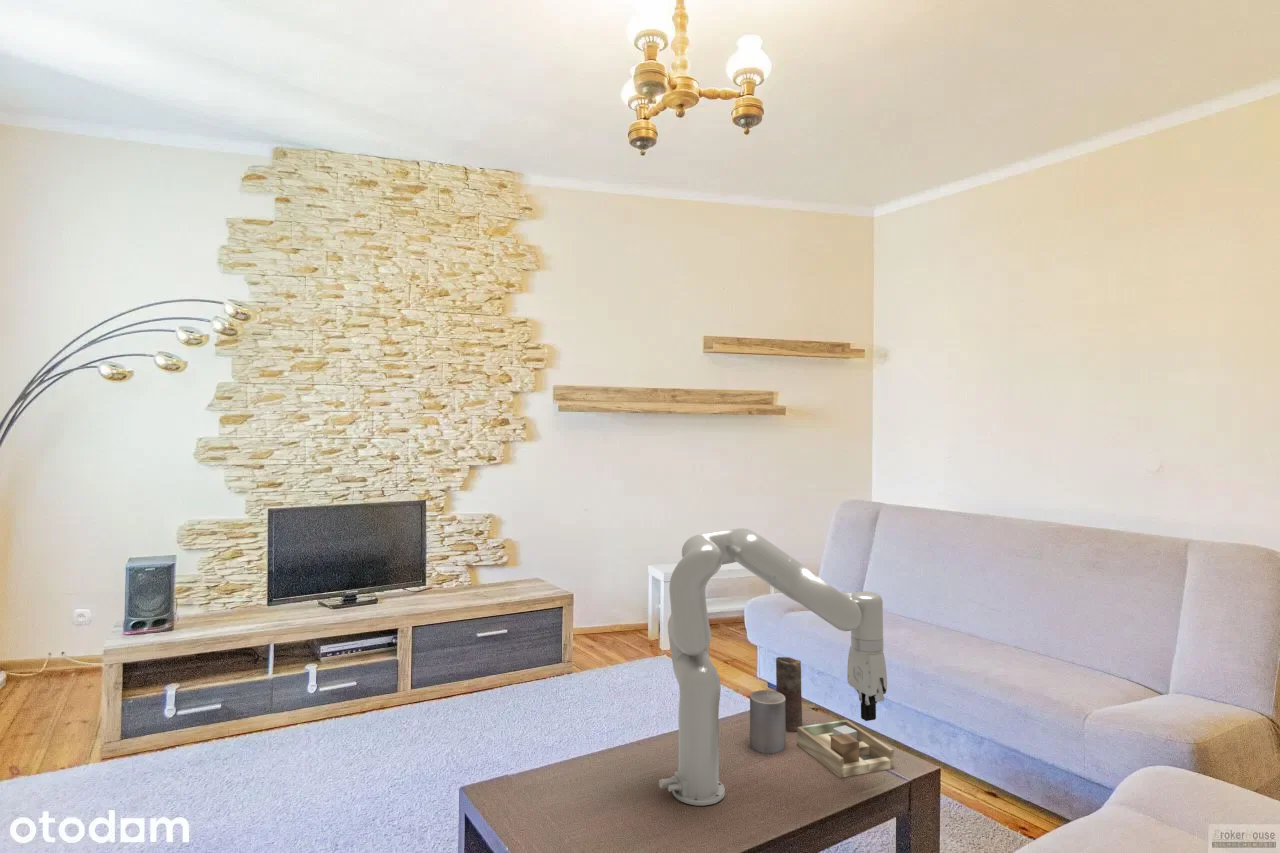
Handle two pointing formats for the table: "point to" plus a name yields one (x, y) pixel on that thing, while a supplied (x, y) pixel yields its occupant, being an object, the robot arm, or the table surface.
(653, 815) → the table surface
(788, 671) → the brown wooden cylinder
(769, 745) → the pillar candle
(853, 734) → the trapped grey block
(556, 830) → the table surface
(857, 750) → the walnut block
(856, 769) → the tray
